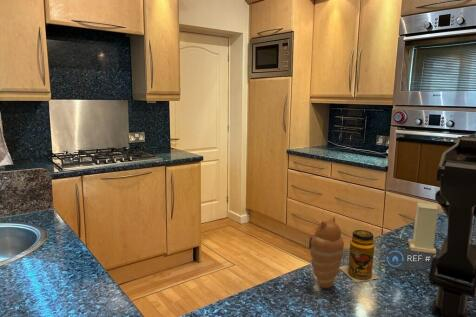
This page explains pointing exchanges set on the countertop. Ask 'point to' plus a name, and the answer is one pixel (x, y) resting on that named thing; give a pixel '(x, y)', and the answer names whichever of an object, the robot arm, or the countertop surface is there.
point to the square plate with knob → (420, 248)
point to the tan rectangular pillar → (425, 225)
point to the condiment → (360, 257)
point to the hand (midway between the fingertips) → (467, 235)
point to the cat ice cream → (327, 252)
